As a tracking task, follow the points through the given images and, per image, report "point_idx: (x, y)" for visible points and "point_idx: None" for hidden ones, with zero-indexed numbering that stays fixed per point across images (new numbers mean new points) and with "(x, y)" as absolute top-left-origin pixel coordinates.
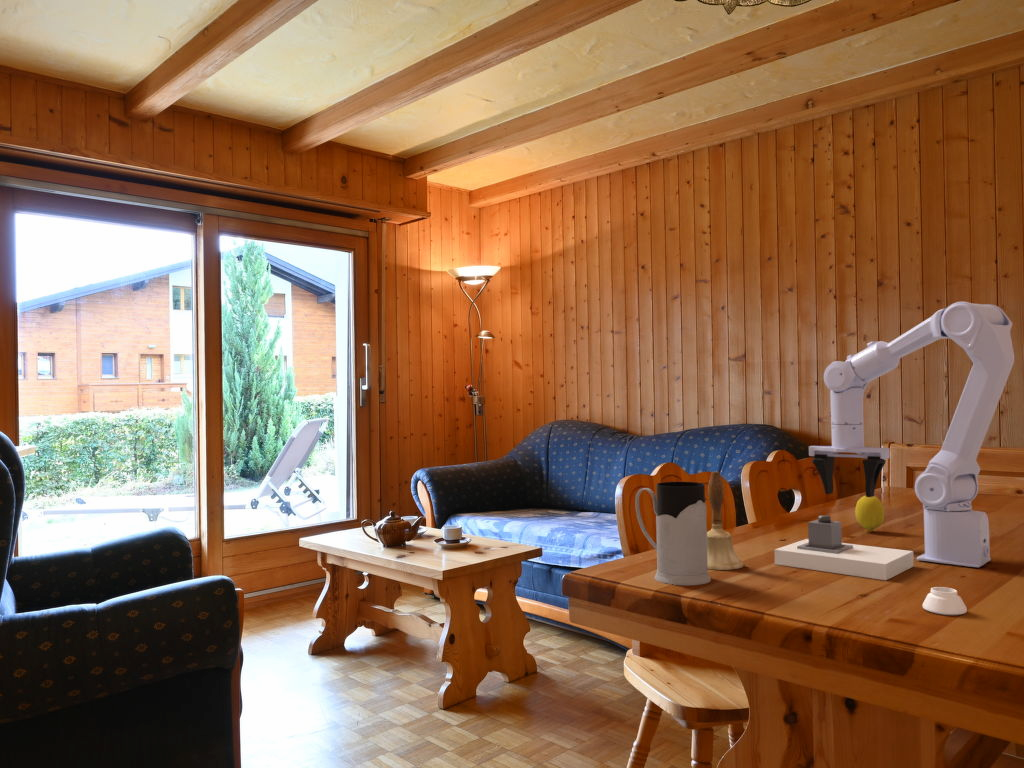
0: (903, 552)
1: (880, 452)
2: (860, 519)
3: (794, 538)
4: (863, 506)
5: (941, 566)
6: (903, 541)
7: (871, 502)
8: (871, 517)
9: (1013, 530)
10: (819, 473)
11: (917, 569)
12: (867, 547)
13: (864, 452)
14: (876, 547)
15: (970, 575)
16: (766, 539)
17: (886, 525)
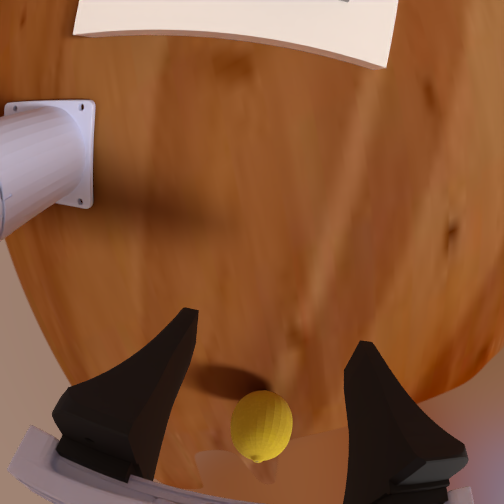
0: (89, 3)
1: (38, 465)
2: (279, 401)
3: (424, 267)
4: (269, 426)
5: (53, 79)
6: None
7: (250, 435)
8: (254, 403)
9: None
10: (417, 406)
11: None
12: (178, 6)
13: (117, 494)
14: (155, 20)
15: (14, 37)
16: (484, 226)
17: None
